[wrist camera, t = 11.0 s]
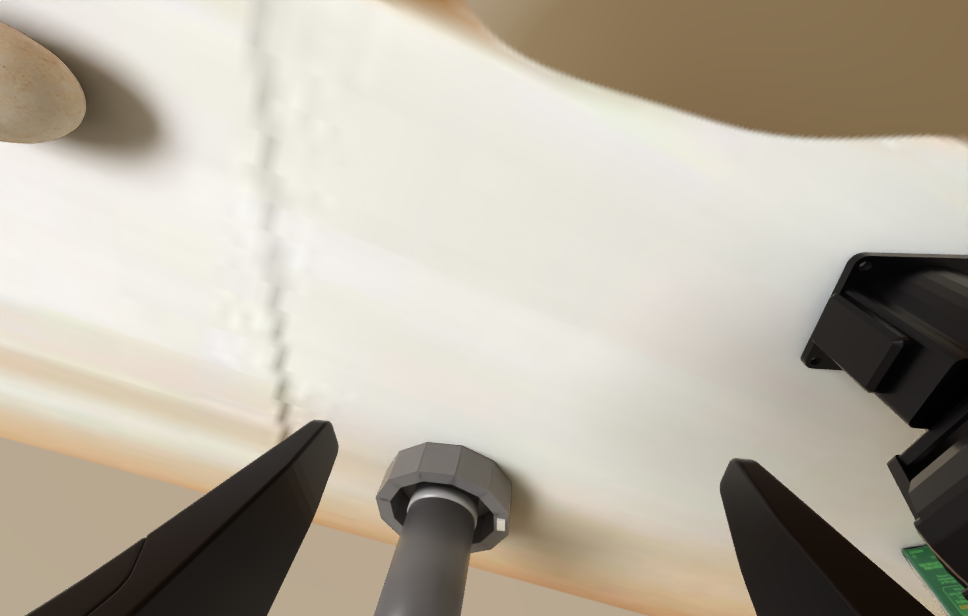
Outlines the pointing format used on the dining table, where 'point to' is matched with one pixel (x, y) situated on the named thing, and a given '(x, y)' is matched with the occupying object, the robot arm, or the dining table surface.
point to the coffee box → (937, 580)
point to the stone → (35, 92)
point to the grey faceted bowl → (448, 469)
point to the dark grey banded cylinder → (431, 553)
